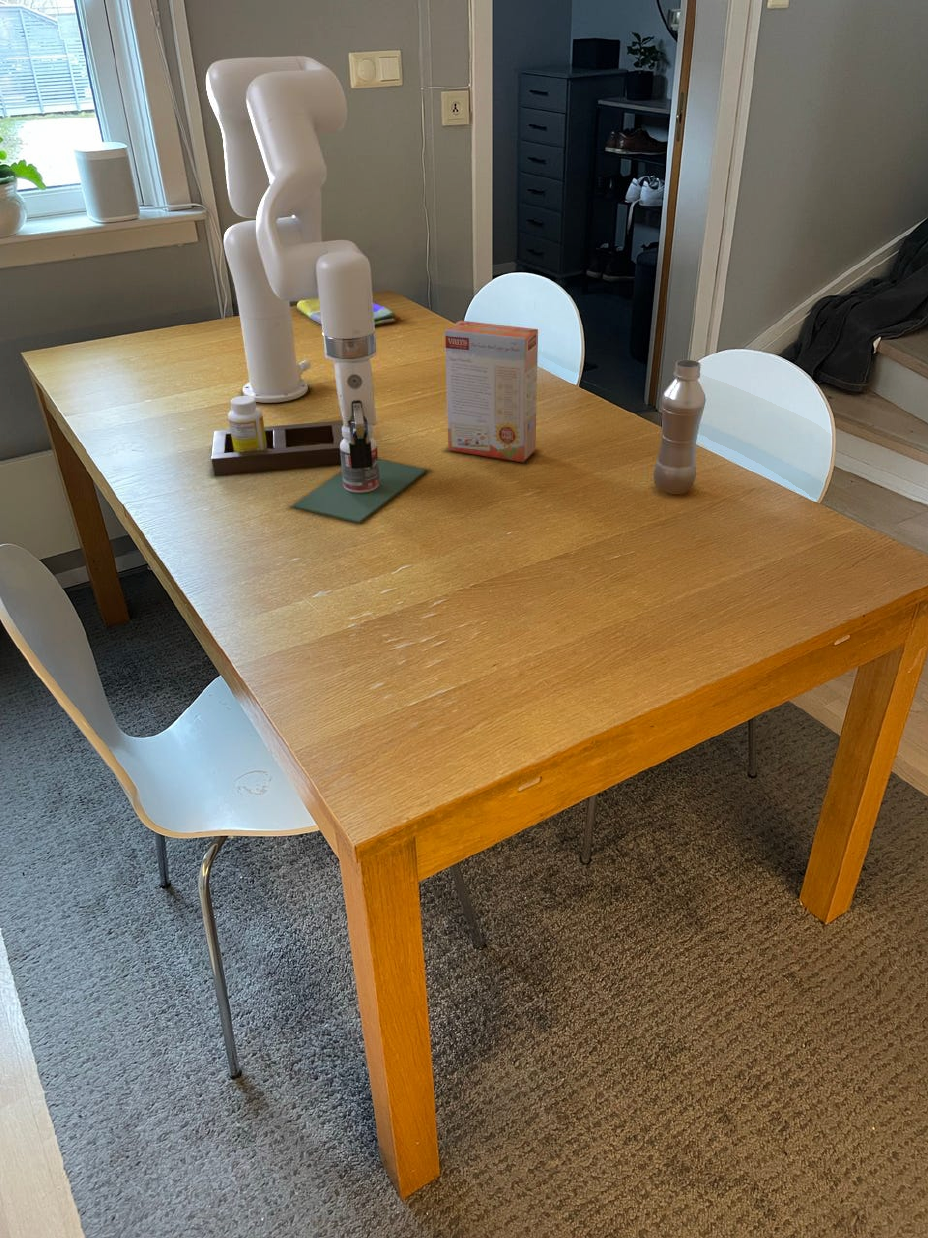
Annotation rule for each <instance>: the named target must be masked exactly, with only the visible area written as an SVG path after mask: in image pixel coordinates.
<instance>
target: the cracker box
mask: <svg viewBox="0 0 928 1238" xmlns="http://www.w3.org/2000/svg"><path fill="white" fill-rule="evenodd" d="M444 336H445V341H444V343H445V377H446V382H445V383H446V416H447V418H446V419H447V445H448V446H447V447H448V451H451V452H456V453H463V454H469V455H473V456H474V455H475V456H481V457H488V458H493V459H500V460H506V461H512V462H516V463H517V462H518V463H525V461H527V459H528V458H529V457H531V455H532V454H533V453H534V452H535V451H536V439H537V437H536V435H537V434H536V433H537V431H536V430H537V401H538V400H537V398H538V397H537V395H538V391H537V390H538V358H539V357H538V354H539V353H538V351H539V349H538V348H539V328H532V327H531V328H530V327H522V326H513V325H505V324H504V325H503V324H494V323H486V322H485V323H484V322H477V321H467V320H458V321H457V322H455V323H454V324H451V326H449V327H447V328H445V329H444Z"/></svg>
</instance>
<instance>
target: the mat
mask: <svg viewBox="0 0 928 1238" xmlns="http://www.w3.org/2000/svg"><path fill="white" fill-rule="evenodd" d="M378 468H379V486H378V487H377V488H376V489H375V490H373V491H370V492H366V493H354V492H350V491H348V490H346V489H345V487H344V485H343V475H342V471H341V472H340V473H338V474H337V475H335V476H334V477H332V478H331V479H329V480H327V481H326V482H325V483H323V484H322V485H320V486H319V487H318V488H316V489H315V490H313V491H312V492H310V493H308V494H307V495H306V496H304V497H303V498H302V499H300V500H298V501H297V502H296V503H294V504H293V508H294V509H299V510H302V511H307V512H312V513H315V514H319V515H323V516H327V517H330V518H334V519H335V518H336V519H339V520H344V521H348V522H351V523H356V524H361V523H362V522H364V521H365V520H367V518H369V517H370V516H372V514H374V513H375V512H377V511H378V510H379V509H380V508H382V507H383V506H384V505H385V504H387V503H388V502H389V501H391V500H392V499H393V498H395V496H397V495H399V494H400V493H401V492H403V491H404V490H405V489H406V488H407V487H408V486H410V485H411V484H412V483H414V482H415V481H417V479H419V478H420V477H422V475H424V474H425V473H426V472H427V469H426V468H419V467H417V466H411V465H406V464H402V463H397V462H393V461H388V460H383V459H380V458H378Z"/></svg>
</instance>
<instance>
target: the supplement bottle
mask: <svg viewBox="0 0 928 1238" xmlns="http://www.w3.org/2000/svg"><path fill="white" fill-rule="evenodd" d="M230 408H231V410H229V412H228V414H227V418H228V419H227V420H228V423H229V430H231V436H232V442H233V447H234V450H233V452H243V451H255V450H266V449H268V447H267V442H266V435H265V429H264V427H265V422H264V416H263V411H262V410H261V409H260V408H259V407H257V402H255V398H253V397H251V396H244V395H239V396H236V397H234V398H231V400H230Z"/></svg>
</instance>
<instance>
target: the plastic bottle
mask: <svg viewBox="0 0 928 1238" xmlns="http://www.w3.org/2000/svg"><path fill="white" fill-rule="evenodd" d="M701 365H702V364H701V363H700V362H699V361H697V360H695V359H680V360H677V361H676V362H675V364H674V371H673V375H672V376H673V378H674V379H673V381H671V383H669V385H668V386H667V387H666V389H665V390H664V392H663V394H662V396H661V416H662V417H661V418H662V419H661V422H662V423H661V440H660V445H659V451H658V456H657V459H656V462H655V465H654V469H653V484H654V485H655V486H656V488H657V490H659V491H660V492H662V493H665V494H672V495H678V494H684V493H687V492H689V491H690V489H691V488H692V487H693V486H694V484H695V482H696V478H697V464H696V453H697V452H696V451H697V449H696V448H697V440H698V434H699V430H700V429H699V428H700V424H701V420H702V418H703V414H704V409H705V408H706V407H705V406H706V402H707V401H706V400H707V399H706V394H705V392H704V390H703V387H702V385H701V383H700V382H699V381H698V380H699V379H700V377H701V368H702V367H701Z"/></svg>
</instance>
